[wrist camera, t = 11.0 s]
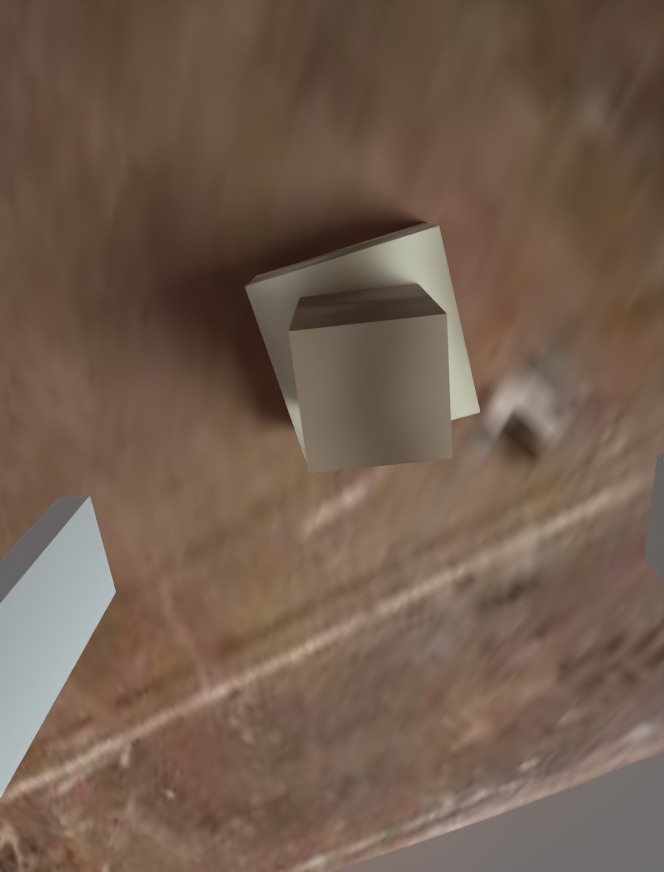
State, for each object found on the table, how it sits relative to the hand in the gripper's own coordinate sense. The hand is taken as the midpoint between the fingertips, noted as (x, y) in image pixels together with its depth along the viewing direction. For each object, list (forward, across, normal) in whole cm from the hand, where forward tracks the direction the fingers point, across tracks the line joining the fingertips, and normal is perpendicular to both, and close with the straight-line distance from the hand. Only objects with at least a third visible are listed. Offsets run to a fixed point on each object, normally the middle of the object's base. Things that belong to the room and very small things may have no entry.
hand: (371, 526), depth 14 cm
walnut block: (+18, +1, 0) cm, 18 cm away
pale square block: (+23, +1, 0) cm, 23 cm away
